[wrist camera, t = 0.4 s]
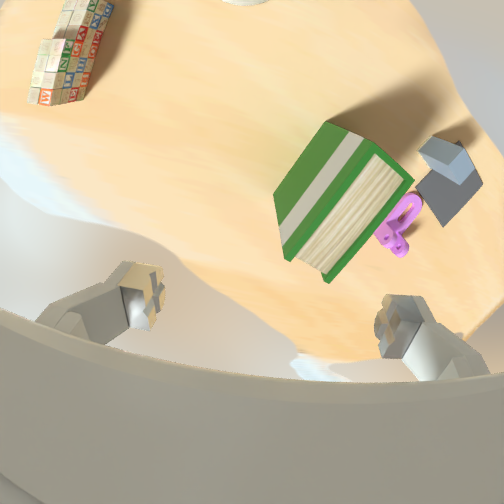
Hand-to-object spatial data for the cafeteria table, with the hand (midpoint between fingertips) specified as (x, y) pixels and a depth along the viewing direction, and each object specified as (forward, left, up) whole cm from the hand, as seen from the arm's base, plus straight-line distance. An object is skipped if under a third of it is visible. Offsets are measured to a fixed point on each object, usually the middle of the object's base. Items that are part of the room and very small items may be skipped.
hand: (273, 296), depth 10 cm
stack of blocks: (-18, -36, -47) cm, 62 cm away
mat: (+4, +45, -47) cm, 65 cm away
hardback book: (+6, +11, -47) cm, 49 cm away
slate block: (-2, +36, -47) cm, 59 cm away
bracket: (+14, +32, -47) cm, 59 cm away
